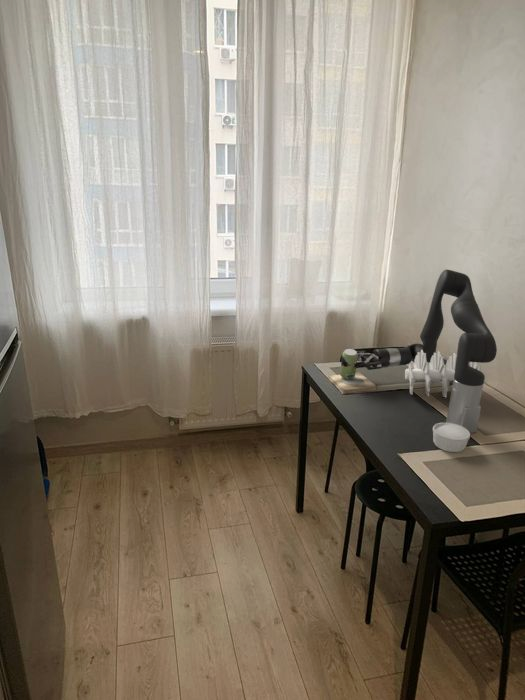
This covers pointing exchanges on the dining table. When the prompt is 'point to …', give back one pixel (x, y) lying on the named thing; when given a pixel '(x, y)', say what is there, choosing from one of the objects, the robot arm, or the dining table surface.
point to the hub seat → (352, 383)
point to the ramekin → (450, 437)
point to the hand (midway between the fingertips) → (349, 361)
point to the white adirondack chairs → (433, 371)
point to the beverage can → (348, 363)
